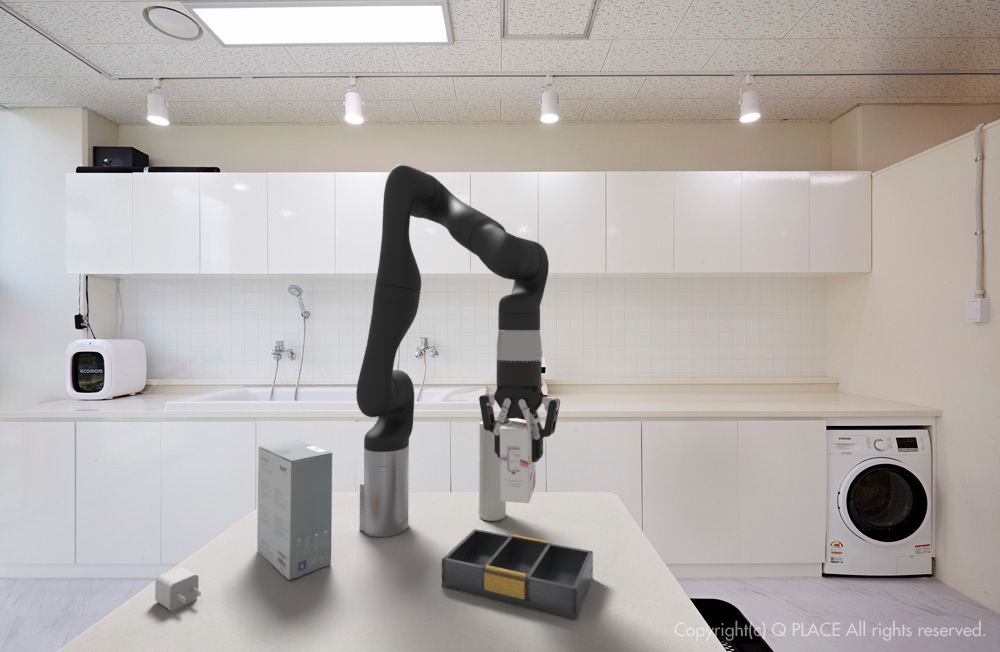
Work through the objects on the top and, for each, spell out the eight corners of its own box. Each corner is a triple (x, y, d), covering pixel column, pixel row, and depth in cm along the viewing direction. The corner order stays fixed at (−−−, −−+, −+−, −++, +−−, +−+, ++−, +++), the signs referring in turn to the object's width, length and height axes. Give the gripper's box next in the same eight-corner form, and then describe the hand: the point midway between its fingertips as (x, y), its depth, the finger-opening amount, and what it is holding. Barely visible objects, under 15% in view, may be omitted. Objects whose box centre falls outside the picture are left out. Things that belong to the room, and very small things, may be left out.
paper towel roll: (505, 522, 99) (506, 424, 99) (478, 521, 99) (478, 424, 99) (505, 509, 106) (506, 417, 106) (479, 509, 106) (480, 417, 106)
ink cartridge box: (508, 483, 80) (508, 400, 80) (536, 485, 79) (536, 401, 79) (498, 501, 71) (498, 408, 72) (529, 504, 70) (529, 409, 71)
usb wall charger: (184, 590, 72) (184, 565, 72) (207, 604, 69) (207, 577, 69) (155, 603, 69) (155, 577, 69) (177, 618, 65) (178, 590, 65)
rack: (440, 588, 73) (440, 558, 73) (474, 553, 85) (474, 527, 85) (575, 622, 64) (575, 588, 65) (592, 578, 76) (592, 549, 76)
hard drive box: (333, 565, 80) (334, 452, 80) (288, 582, 75) (290, 461, 75) (296, 537, 91) (297, 438, 91) (255, 551, 85) (256, 445, 85)
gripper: (470, 357, 75) (469, 459, 74) (554, 359, 69) (554, 470, 69) (488, 355, 82) (488, 449, 81) (566, 357, 76) (566, 458, 76)
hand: (518, 458), depth 75 cm, fingers closed on ink cartridge box, 5 cm apart
